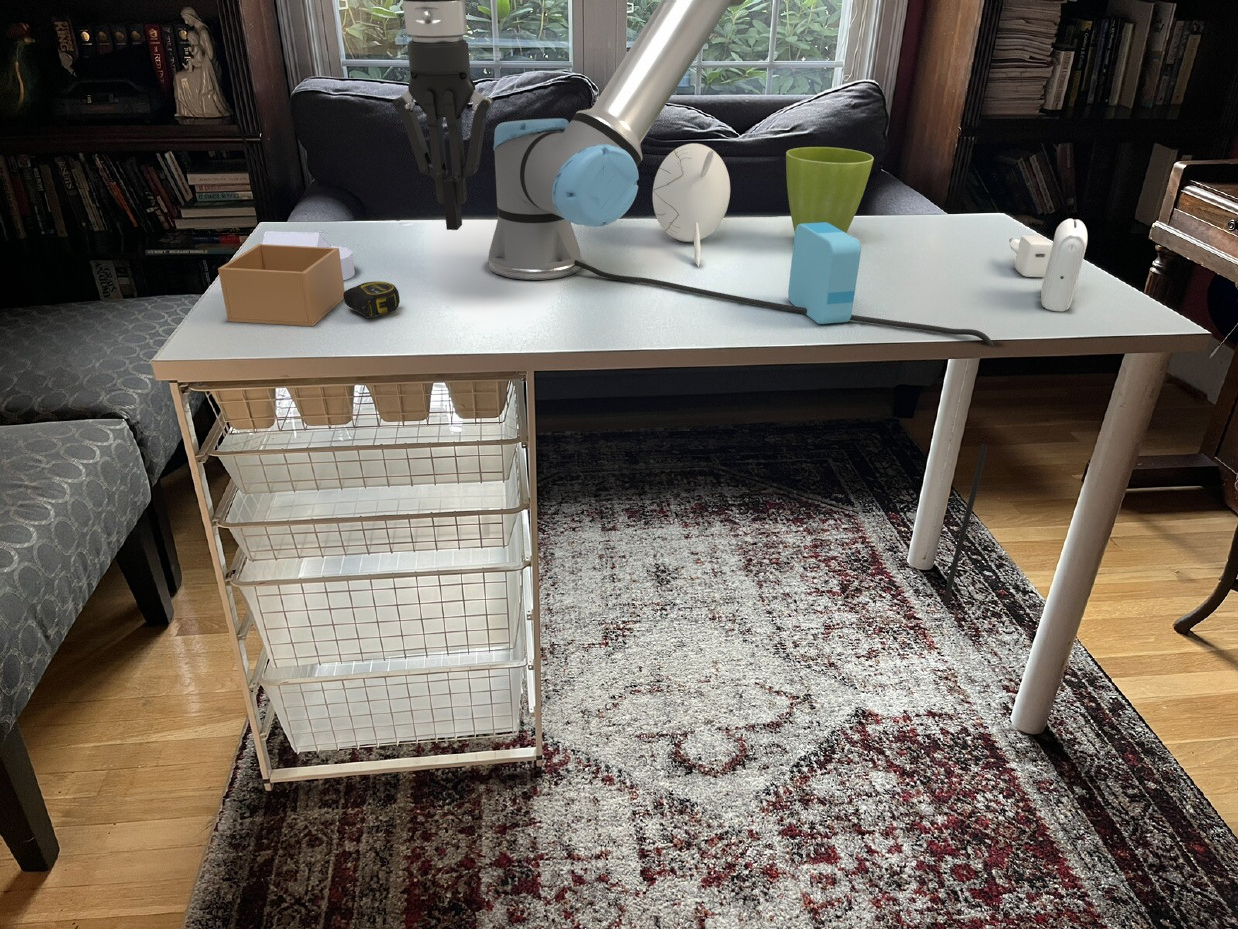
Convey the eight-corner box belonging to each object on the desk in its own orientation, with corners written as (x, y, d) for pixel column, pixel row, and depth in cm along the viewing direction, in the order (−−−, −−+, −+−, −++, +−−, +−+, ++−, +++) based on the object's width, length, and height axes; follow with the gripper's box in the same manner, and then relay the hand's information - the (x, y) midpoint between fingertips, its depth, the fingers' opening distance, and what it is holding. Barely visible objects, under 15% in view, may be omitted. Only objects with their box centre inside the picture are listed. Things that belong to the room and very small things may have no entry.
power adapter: (999, 258, 161) (1007, 225, 159) (1027, 259, 161) (1035, 226, 158) (1019, 278, 152) (1028, 242, 149) (1049, 279, 151) (1058, 243, 149)
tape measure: (343, 311, 132) (340, 285, 130) (387, 301, 136) (384, 277, 134) (364, 324, 127) (361, 298, 125) (409, 314, 131) (406, 289, 129)
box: (345, 297, 137) (339, 247, 133) (313, 326, 126) (305, 273, 123) (266, 293, 138) (258, 243, 134) (228, 321, 127) (217, 268, 124)
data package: (850, 325, 131) (863, 241, 125) (821, 327, 130) (833, 243, 124) (813, 298, 141) (823, 219, 135) (786, 300, 140) (795, 221, 134)
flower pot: (799, 230, 175) (809, 143, 168) (873, 244, 168) (887, 153, 160) (762, 247, 165) (771, 154, 157) (839, 263, 157) (852, 166, 149)
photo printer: (1070, 313, 137) (1093, 230, 131) (1039, 309, 138) (1060, 227, 132) (1068, 293, 145) (1089, 214, 139) (1039, 289, 147) (1058, 211, 140)
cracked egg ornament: (654, 137, 169) (665, 143, 146) (728, 145, 170) (750, 151, 147) (643, 242, 176) (652, 263, 152) (714, 248, 177) (734, 270, 153)
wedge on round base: (262, 282, 142) (345, 284, 142) (254, 239, 139) (340, 241, 139) (281, 264, 150) (361, 266, 150) (275, 223, 147) (356, 225, 147)
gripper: (376, 40, 112) (399, 233, 123) (481, 41, 110) (495, 236, 122) (395, 35, 118) (416, 218, 130) (495, 35, 117) (506, 220, 129)
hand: (454, 226), depth 126 cm, fingers closed
